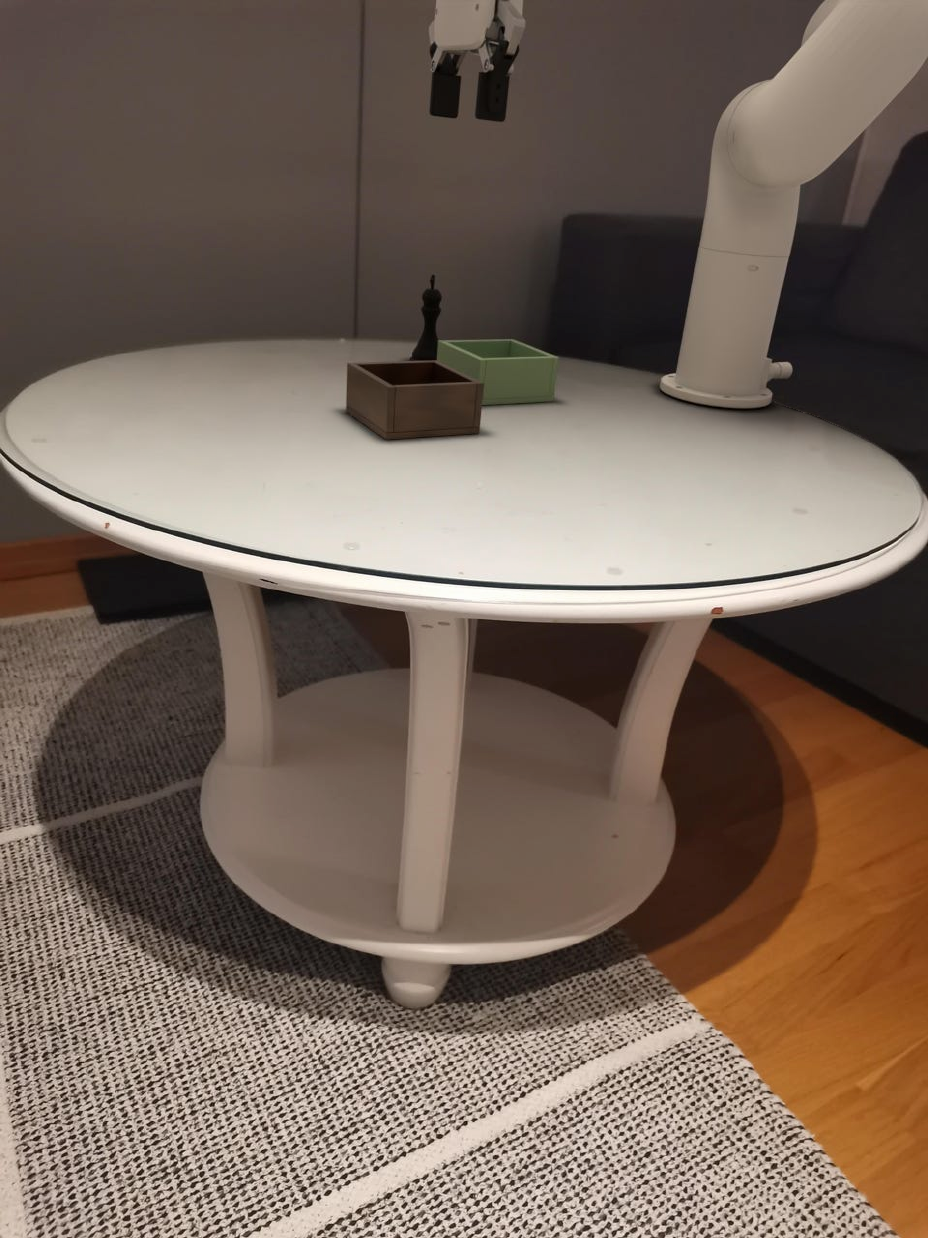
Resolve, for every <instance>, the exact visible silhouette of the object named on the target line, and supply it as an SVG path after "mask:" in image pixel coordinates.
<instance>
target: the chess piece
mask: <svg viewBox="0 0 928 1238" xmlns="http://www.w3.org/2000/svg"><path fill="white" fill-rule="evenodd" d="M429 283H430V288H429V287H428V288H425V290H424V291H423V292H422V294H421V300H422V302H423V305H422V306H421V307H420V311H421V313H422V314H421V315H422V317H423V321H424V324H423V331H422V334H421V336H420V338H419V340H418V341H417V344H416V346H415V347H414V348H413V351H412V352H411V356H410V357H409V360H408V361H429V360H431V361H432V360H437V349H438V341H440V340H439V338H438V337H439V336H438V334H437V321H438V319H439V317H440V314H441V312H442V309H441V306H440V304H441V302H442V299H443V295H442V294H441V292H440V289H437V288H435V285H436V284H435V283H436V275H435V274H431V277H430V279H429Z"/></svg>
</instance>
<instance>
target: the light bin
mask: <svg viewBox="0 0 928 1238" xmlns="http://www.w3.org/2000/svg"><path fill="white" fill-rule="evenodd" d="M559 360H560V357H559V356H557V355H553V354H551V353H549V352H547V351H545V350H544V351H543V350H541V349H539V348H536V347H534V346H531V345H529V344H526V343H523V342H521V341H520V340H516V339H513V338H505V339H503V338H502V339H500V338H499V339H453V340H452V339H450V340H448V339H447V340H445V339H444V340H439V341H438V349H437V361H439V362H441V363H443V364H445V365H447V366H449V367H452V368H454V369H456V370H458V371H460V372H462V373H464V374H466V375H468V376H470V377H472V378H474V379H476V380H478V381H480V382H482V383H484V388H483V399H482V406H492V405H493V406H494V405H495V406H496V405H513V404H530V403H544V402H546V403H549V402H554V401H555V393H556V384H557V376H558V369H559Z"/></svg>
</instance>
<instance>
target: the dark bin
mask: <svg viewBox="0 0 928 1238" xmlns="http://www.w3.org/2000/svg"><path fill="white" fill-rule="evenodd" d="M483 388H484V383H482V382H480V381H478V380H476V379H474V378H472V377H470V376H468V375H466V374H464V373H462V372H460V371H458V370H456V369H454V368H452V367H449V366H447V365H445V364H443V363H441V362H439V361H437V360H432V361H431V360H429V361H409V360H401V361H400V360H398V361H397V360H396V361H365V362H364V361H363V362H347V363H346V396H345V397H346V398H345V399H346V401H345V403H346V404H345V412H346V413H347V414H349V415H350V416H351V417H353V418H354V419H356V420H357V421H358V422H360V423H362V424H363V425H364V426H366V427H367V428H368V429H370V430H372V431H373V432H375V433H376V434H377V435H378V436H380V437H382V438H383V439H384V440H385V441H388V440H402V439H419V438H431V437H432V438H433V437H444V436H445V437H446V436H461V435H472V434H473V435H475V434H480V431H481V420H482V409H483V405H482V399H483Z"/></svg>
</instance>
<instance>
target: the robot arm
mask: <svg viewBox="0 0 928 1238" xmlns="http://www.w3.org/2000/svg"><path fill="white" fill-rule="evenodd" d="M523 7H524V0H436V1H435V13H434V19H433V20H432V22H431V23H430V24H429V26H428V35H429V44H430V45H429V46H430V47H429V55H430V56H429V57H430V58H431V62H430V71H431V85H430V88H431V89H430V96H429V97H430V98H429V115H430V116H431V117H439V118H447V119H457V118H458V116H459V110H460V109H459V108H460V99H461V98H460V97H461V86H462V85H461V84H462V75H458V73H459V72H460V69H461V67H462V65H463V61H464V60H465V58H466V55H467V53H469V54H470V55H472V56H476V57H479V58H480V62H481V65H482V69H483V71H479V72H478V78H477V89H476V98H475V99H476V100H475V109H474V116H475V118H476V120H481V121H490V122H496V123H497V122H498V123H503V122H505V120H506V116H507V107H508V97H509V87H510V78H511V76H512V75H513V73H514V69H515V65H514V62H515V61H516V59H517V57H518V56H519V52H520V43H521V40H522V38H523V35H524V33H525V32H524V31H525V29H526V24H527V22H526V20H525V18H524V17H523V10H524V9H523ZM452 55H453V56H452ZM927 59H928V0H823V2H822V3H820V5H819V6H818V7H817V9H816V11H815V12H814V13H813V15H812V16H811V18H810V20H809V22H808V24H807V26H806V28H805V30H804V33H803V36H802V40H801V45H800V47H799V49H798V50H797V51H796V52H795V53H794V54H793V56H792V57H791V58H790V59H789V60H788V62H787V63H786V64H785V65H784V66H783V67H782V68H781V70H780V71H778V73H776V75H775V76H774V77H772V78H771V79H765V80H763V81H760V82H756V83H754V84H752V85H749V86H748V87H746V88H745V89H743V90H742V91H740V92H739V93H738V94H737V95H736V96H735V97H734V98H733V99H732V100H731V101H730V103H728V105H727V106H726V108H725V109H724V111H723V113H722V114H721V117H720V119H719V121H718V123H717V126H716V130H715V133H714V137H713V141H712V142H713V143H712V147H711V155H710V167H709V177H708V187H707V196H706V203H705V210H704V215H703V223H702V228H701V234H700V240H699V244H698V245H699V246H698V247H697V248H698V249H697V255H696V259H695V264H694V265H695V266H694V271H693V277H692V283H691V288H690V292H689V293H690V294H689V298H688V305H687V309H686V310H687V312H686V314H685V315H686V316H685V321H684V326H683V332H682V336H681V337H682V338H681V343H680V348H679V354H678V360H677V365H676V371H675V373H669V374H666V375H664V376H663V377H661V378H660V382H659V383H660V384H659V389H660V391H662V392H663V393H664V394H666V395H668V396H670V397H673V398H675V399H679V400H682V401H686V402H690V403H694V404H698V405H704V406H710V407H717V408H727V409H729V408H730V409H758V408H762V407H767V406H768V405H770V404H771V403H772V400H773V392H772V390H771V389H769V388H768V387H767V383H769V382H770V381H771V380H788V379H789V378H790V377H791V376H792V374H793V366H792V364H791V363H790V362H789V361H783V362H782V361H779V362H772V361H773V359H772V358H769V357H768V352H769V347H770V343H771V338H772V333H773V330H774V325H775V321H776V315H777V311H778V306H779V302H780V298H781V293H782V288H783V285H784V279H785V275H786V271H787V266H788V262H789V257H790V255H791V251H792V246H793V242H794V236H795V231H796V225H797V219H798V214H799V212H798V211H799V205H800V194H801V185H804V184H806V183H807V182H810V181H812V180H813V179H815V178H816V177H818V176H819V175H820V174H822V173H823V172H825V170H827V169H828V168H829V167H830V166H831V165H832V164H833V163H834V162H835V161H836V160H837V159H838V158H839V157H840V156H841V155H842V154H843V153H844V152H845V151H846V150H847V149H848V148H849V147H850V146H851V145H852V144H853V143H854V142H855V141H856V140H857V138H858V137H859V136H860V135H861V134H862V133H863V132H864V131H865V130H866V129H867V128H868V127H869V126H870V125H871V124H872V123H873V122H874V121H875V119H876V118H877V117H878V116H880V114H881V113H882V112H883V111H884V110H885V108H887V106H889V104H890V103H891V102H892V101H893V100H894V99H896V97H897V96H898V95H899V94H900V93H901V91H903V89H904V88H905V87H906V86H907V85H908V84H909V83H910V82H911V81H912V79H913V78H915V76H916V74H917V73H918V72H919V71H920V70H921V68H922V66H923V65H924V63H925V62H926V60H927Z"/></svg>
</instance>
